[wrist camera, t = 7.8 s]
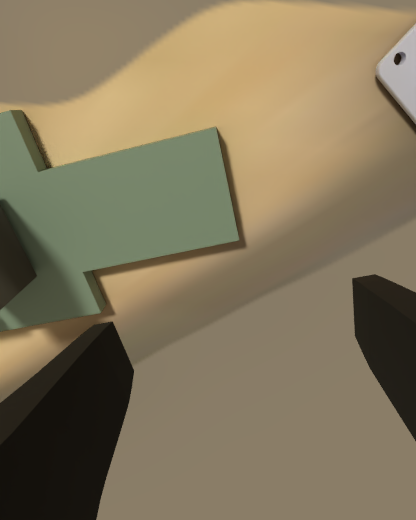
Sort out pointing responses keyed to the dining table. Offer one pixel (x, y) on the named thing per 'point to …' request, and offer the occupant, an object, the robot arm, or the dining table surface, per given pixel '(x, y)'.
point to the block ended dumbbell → (12, 263)
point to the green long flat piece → (105, 214)
